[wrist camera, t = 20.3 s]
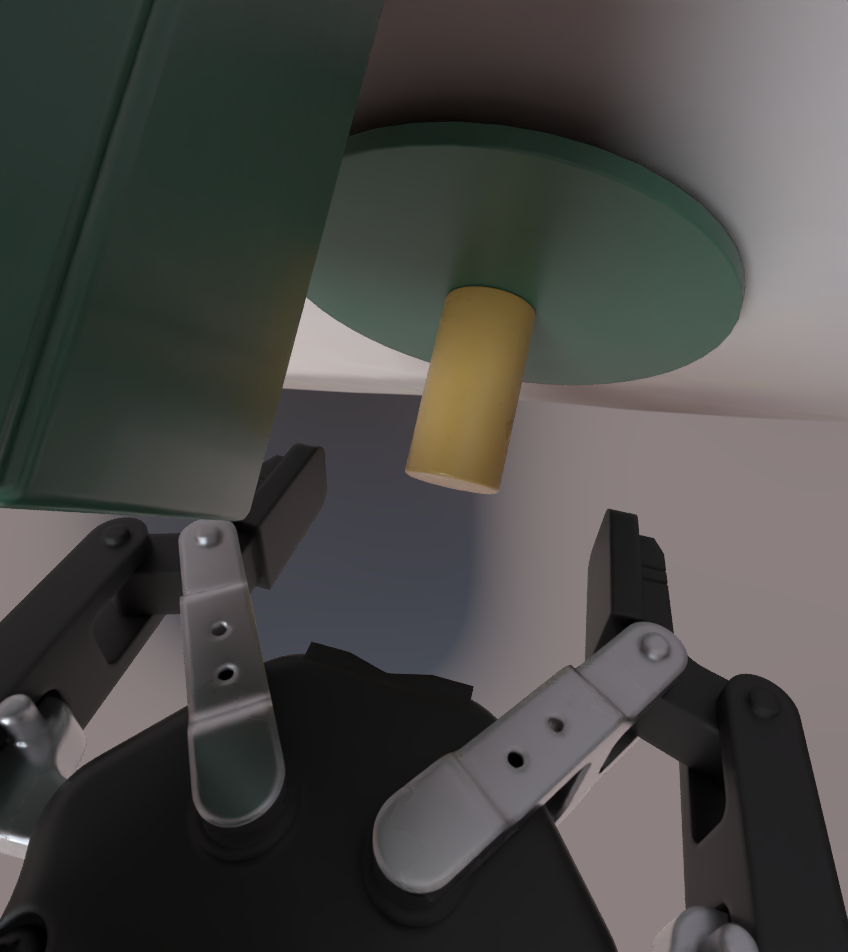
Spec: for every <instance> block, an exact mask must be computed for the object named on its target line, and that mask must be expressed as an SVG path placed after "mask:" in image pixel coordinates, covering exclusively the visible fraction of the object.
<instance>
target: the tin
mask: <svg viewBox="0 0 848 952" xmlns="http://www.w3.org/2000/svg"><path fill="white" fill-rule="evenodd" d="M383 2H384V0H0V508H12V509H30V510H47V511H64V512H65V511H66V512H82V513H100V514H118V515H135V516H152V517H153V516H154V517H170V518H187V519H205V520H222V521H238V520H243V519H244V518H245V517H246V516H247V514H248V513H249V512H250V509H251V505H252V501H253V497H254V493H255V490H256V486H257V482H258V478H259V474H260V470H261V467H262V463H263V459H264V455H265V451H266V448H267V444H268V440H269V436H270V432H271V428H272V425H273V421H274V417H275V413H276V410H277V405H278V402H279V398H280V394H281V390H282V387H283V383H284V379H285V375H286V371H287V368H288V364H289V360H290V356H291V352H292V349H293V345H294V341H295V337H296V333H297V330H298V326H299V322H300V318H301V314H302V311H303V307H304V303H305V299H306V295H307V292H308V288H309V284H310V280H311V276H312V272H313V269H314V265H315V261H316V257H317V253H318V250H319V246H320V242H321V238H322V234H323V231H324V227H325V223H326V219H327V215H328V212H329V208H330V204H331V200H332V196H333V192H334V189H335V185H336V181H337V177H338V173H339V170H340V166H341V162H342V158H343V154H344V151H345V147H346V143H347V139H348V135H349V132H350V128H351V124H352V120H353V116H354V113H355V109H356V105H357V101H358V97H359V93H360V90H361V86H362V82H363V78H364V74H365V71H366V67H367V63H368V59H369V55H370V52H371V48H372V44H373V40H374V36H375V33H376V29H377V25H378V21H379V17H380V14H381V10H382V6H383Z"/></svg>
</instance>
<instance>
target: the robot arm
mask: <svg viewBox="0 0 848 952" xmlns="http://www.w3.org/2000/svg"><path fill="white" fill-rule="evenodd" d="M326 491H327V485H326V467H325V452H324V449H323V448H322V447H320V446H315V445H310V444H305V443H301V442H296V443H295V444H294V445H293V446H292V447H291V449H290V450H289V451H288V452H287V454H286V455H285V456H279V455H276V456H274V457H272V458H270V459H269V460H267V461H265V462H263V463H262V467H261V470H260V474H259V478H258V482H257V486H256V490H255V493H254V497H253V501H252V505H251V509H250V512H249V513H248V514H247V516H246V517H245V518H244V519H243V520H238V521H222V520H205V519H201V520H198V521H195V522H194V523H192V524H190V525H189V526H187V527H186V528H185V529H184V530H183V531H182V532H181V533H177V534H149V533H148V530H147V527H146V525H145V524H144V523H143V522H142V521H141V520H138V519H135V518H117V519H113V520H110V521H107V522H105V523H103V524H101V525H99V526H97V527H96V528H95V529H94V530H92V531H91V532H90V533H89V534H88V535H87V536H86V537H85V538H84V539H83V540H82V541H81V542H80V543H79V544H78V545H77V546H76V547H75V548H74V549H73V550H72V551H71V552H70V553H69V554H68V555H67V556H66V557H65V558H64V559H63V560H62V561H61V562H60V563H59V564H58V565H57V566H56V567H55V568H54V569H53V570H52V571H51V572H50V573H49V574H48V575H47V576H46V577H45V578H44V579H43V580H42V581H41V582H40V583H39V584H38V585H37V586H36V587H35V588H34V589H33V590H32V591H31V592H30V593H29V594H28V595H27V596H26V597H25V598H24V599H23V600H22V601H21V602H20V603H19V604H18V605H17V606H16V607H15V608H14V609H13V610H12V611H11V612H10V613H9V614H8V615H7V616H6V617H5V618H4V619H3V620H2V621H1V622H0V853H3V854H6V855H10V856H14V857H17V858H21V859H24V863H23V867H22V870H21V873H20V876H19V879H18V882H17V884H16V886H15V889H14V891H13V894H12V896H11V899H10V901H9V903H8V905H7V907H6V909H5V911H4V913H3V915H2V917H1V919H0V952H618V951H617V948H616V945H615V943H614V940H613V938H612V936H611V934H610V932H609V930H608V928H607V926H606V924H605V922H604V920H603V918H602V916H601V914H600V912H599V910H598V908H597V906H596V904H595V902H594V900H593V898H592V896H591V894H590V892H589V890H588V888H587V886H586V885H585V882H584V881H583V878H582V876H581V874H580V873H579V871H578V869H577V867H576V865H575V863H574V861H573V859H572V857H571V855H570V853H569V851H568V849H567V847H566V845H565V843H564V841H563V839H562V837H561V835H560V833H559V831H558V829H557V826H558V825H559V824H560V823H561V822H562V821H563V820H564V819H565V818H566V817H567V816H568V815H569V814H570V813H571V811H572V810H573V809H574V808H575V807H576V806H577V805H578V804H579V802H580V801H581V800H582V799H583V798H584V796H585V795H586V794H587V792H588V791H589V790H590V789H591V788H592V786H593V785H594V784H595V783H596V782H597V781H598V780H599V779H600V778H601V777H602V776H603V775H604V774H605V773H606V772H607V771H608V770H609V769H610V768H611V767H612V766H613V765H614V764H615V763H616V761H618V760H619V759H620V758H621V757H622V756H623V755H624V754H625V753H626V752H627V751H628V750H629V748H631V747H632V746H633V745H634V744H635V743H636V742H637V741H638V740H639V739H640V738H642V739H643V740H645V741H646V742H648V743H650V744H652V745H653V746H655V747H656V748H658V749H660V750H661V751H663V752H665V753H666V754H668V755H670V756H672V757H673V758H675V759H676V760H678V761H679V765H680V766H679V768H680V789H681V813H682V833H683V834H682V836H683V857H684V879H685V880H684V881H685V902H686V910H685V911H683V912H682V913H681V914H679V915H678V916H677V917H676V918H675V919H674V920H673V921H671V922H670V923H669V924H668V925H667V926H665V927H664V928H663V929H662V930H661V931H660V932H659V933H658V934H657V936H656V938H655V940H654V943H653V946H652V952H848V919H847V915H846V910H845V906H844V902H843V897H842V893H841V889H840V885H839V880H838V876H837V872H836V868H835V863H834V859H833V855H832V851H831V846H830V842H829V838H828V834H827V829H826V825H825V821H824V817H823V813H822V808H821V804H820V799H819V795H818V791H817V787H816V782H815V778H814V774H813V770H812V765H811V761H810V757H809V753H808V748H807V744H806V740H805V736H804V731H803V727H802V723H801V719H800V715H799V712H798V709H797V707H796V706H795V704H794V702H793V701H792V700H791V698H790V697H789V696H788V695H787V694H786V693H785V692H784V691H783V690H782V689H781V688H780V687H778V686H777V685H775V684H774V683H772V682H771V681H769V680H767V679H765V678H762V677H759V676H757V675H752V674H740V675H736V676H734V677H733V678H732V679H730V680H727V679H725V678H723V677H721V676H719V675H717V674H715V673H713V672H711V671H709V670H707V669H706V668H704V667H702V666H700V665H699V664H697V663H696V662H695V661H693V660H692V659H691V658H689V657H688V655H687V652H686V649H685V647H684V645H683V644H682V642H681V641H680V640H679V639H678V638H677V636H676V635H674V631H673V623H672V616H671V607H670V600H669V591H668V586H667V575H666V573H665V571H666V567H665V559H664V553H663V552H662V550H661V549H660V547H659V545H658V544H657V542H656V541H655V539H654V538H650V537H646V536H642V535H639V527H638V517H637V515H635V514H631V513H626V512H621V511H617V510H612V509H607V511H606V513H605V515H604V518H603V521H602V524H601V527H600V529H599V532H598V535H597V538H596V540H595V544H594V546H593V549H592V552H591V556H590V561H589V567H588V586H587V587H588V588H587V617H586V647H585V648H586V649H585V662H584V663H582V664H581V665H580V666H578V667H577V668H573V666H571V665H569V666H566V667H564V668H562V669H561V670H560V671H558V672H557V673H556V674H555V675H553V676H552V677H551V678H549V679H548V680H547V681H546V682H544V683H543V684H542V685H541V686H539V687H538V688H537V689H536V690H534V691H533V692H532V693H530V694H529V695H528V696H527V697H526V698H524V699H523V700H522V701H520V702H519V703H518V704H517V705H515V706H514V707H513V708H512V709H510V710H509V711H508V712H506V713H505V714H504V715H503V716H501V717H500V718H499V719H497V718H496V717H495V716H493V715H492V714H491V713H490V712H489V711H488V710H487V709H485V708H484V707H483V706H481V705H480V704H478V703H477V702H475V701H473V700H471V696H472V692H473V686H470V685H467V684H463V683H459V682H455V681H452V680H449V679H445V678H441V677H438V676H434V675H417V674H391V673H386V672H384V671H382V670H380V669H378V668H377V667H375V666H373V665H371V664H370V663H368V662H366V661H364V660H362V659H361V658H359V657H357V656H356V655H354V654H352V653H350V652H347V651H343V650H339V649H336V648H332V647H329V646H325V645H322V644H318V643H314V642H311V644H310V646H309V648H308V650H307V652H306V654H292V655H286V656H281V657H278V658H274V659H271V660H269V661H266V662H263V657H262V652H261V647H260V643H259V637H258V632H257V628H256V623H255V618H254V613H253V609H252V603H251V598H250V593H251V592H252V591H253V589H254V588H255V586H258V587H261V588H265V589H269V590H270V588H271V587H272V585H273V584H274V582H275V581H276V579H277V578H278V576H279V574H280V573H281V571H282V570H283V568H284V567H285V565H286V564H287V562H288V560H289V559H290V557H291V556H292V554H293V553H294V551H295V550H296V548H297V546H298V545H299V543H300V542H301V540H302V539H303V537H304V536H305V534H306V532H307V531H308V529H309V528H310V526H311V524H312V523H313V521H314V520H315V518H316V516H317V515H318V514H319V512H320V511H321V509H322V507H323V504H324V502H325V498H326ZM166 614H181V626H182V638H183V651H184V664H185V676H186V688H187V700H188V706H186V707H184V708H182V709H180V710H179V711H177V712H175V713H173V714H172V715H170V716H168V717H166V718H165V719H163V720H161V721H159V722H158V723H156V724H154V725H152V726H151V727H149V728H147V729H145V730H143V731H142V732H140V733H138V734H137V735H135V736H133V737H131V738H130V739H128V740H126V741H124V742H122V743H121V744H119V745H117V746H115V747H114V748H112V749H110V750H108V751H107V752H105V753H103V754H101V755H100V756H98V757H96V758H94V759H93V760H92V761H90V762H88V763H87V764H85V765H83V766H82V767H81V768H80V769H78V770H77V766H78V765H79V763H80V761H81V759H82V757H83V755H84V752H85V749H86V736H85V733H84V732H83V730H84V728H85V727H86V725H87V724H88V722H89V721H90V720H91V718H92V717H93V716H94V714H95V713H96V711H97V710H98V708H99V707H100V706H101V704H102V703H103V702H104V700H105V699H106V697H107V696H108V695H109V693H110V692H111V691H112V689H113V687H114V686H115V685H116V684H117V682H118V681H119V679H120V678H121V676H122V675H123V674H124V672H125V671H126V670H127V668H128V667H129V665H130V664H131V663H132V661H133V660H134V658H135V657H136V656H137V654H138V653H139V651H140V650H141V649H142V647H143V646H144V645H145V643H146V642H147V640H148V639H149V637H150V636H151V635H152V633H153V632H154V631H155V629H156V628H157V626H158V625H159V624H160V622H161V621H162V619H163V618H164V617H165V615H166Z"/></svg>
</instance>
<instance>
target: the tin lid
mask: <svg viewBox="0 0 848 952" xmlns="http://www.w3.org/2000/svg"><path fill="white" fill-rule="evenodd" d="M744 292H745V277H744V268H743V265H742V262H741V259H740V256H739V253H738V251H737V248H736V246H735V245H734V243H733V241H732V240H731V238H730V237H729V235H728V234H727V232H726V231H725V229H724V228H723V226H722V225H721V224H720V223H719V222H718V221H717V220H716V219H715V218H714V217H713V216H712V215H711V214H710V213H709V212H708V211H707V210H706V209H705V208H704V206H703V205H702V204H700V203H699V202H698V201H696V200H695V199H694V198H692V197H691V196H690V195H688V194H687V193H686V192H684V191H683V190H681V189H680V188H679V187H677V186H676V185H675V184H673V183H672V182H670V181H668V180H666V179H665V178H663V177H661V176H659V175H657V174H655V173H654V172H652V171H650V170H648V169H646V168H645V167H643V166H641V165H639V164H637V163H635V162H633V161H630V160H628V159H625V158H623V157H620V156H618V155H615V154H613V153H610V152H608V151H605V150H603V149H601V148H598V147H596V146H592V145H589V144H585V143H582V142H578V141H575V140H571V139H568V138H564V137H561V136H557V135H554V134H550V133H545V132H539V131H534V130H528V129H523V128H517V127H512V126H506V125H496V124H483V123H471V122H422V123H409V124H402V125H395V126H388V127H382V128H375V129H372V130H368V131H365V132H361V133H358V134H354V135H351V136H348V139H347V143H346V147H345V151H344V154H343V158H342V162H341V166H340V170H339V173H338V177H337V181H336V185H335V189H334V192H333V196H332V200H331V204H330V208H329V212H328V215H327V219H326V223H325V227H324V231H323V234H322V238H321V242H320V246H319V250H318V253H317V257H316V261H315V265H314V269H313V272H312V276H311V280H310V284H309V288H308V292H307V295H306V297H307V298H308V299H309V300H310V301H312V302H313V303H314V304H315V305H316V306H318V307H319V308H320V309H321V310H323V311H324V312H326V313H327V314H329V315H330V316H331V317H333V318H334V319H336V320H337V321H339V322H341V323H342V324H344V325H346V326H347V327H349V328H351V329H352V330H354V331H356V332H358V333H360V334H362V335H364V336H365V337H367V338H369V339H371V340H373V341H376V342H378V343H380V344H382V345H384V346H387V347H389V348H391V349H394V350H396V351H399V352H401V353H404V354H406V355H409V356H412V357H415V358H418V359H421V360H423V361H426V362H430V366H429V370H428V374H427V379H426V383H425V387H424V391H423V396H422V400H421V404H420V409H419V413H418V417H417V422H416V426H415V430H414V435H413V439H412V443H411V447H410V452H409V457H408V460H407V465H406V469H405V472H406V473H407V474H408V475H410V476H412V477H414V478H417V479H419V480H423V481H426V482H429V483H433V484H436V485H441V486H444V487H449V488H453V489H458V490H463V491H469V492H476V493H483V494H495V493H497V492H498V491H499V488H500V483H501V478H502V474H503V469H504V464H505V459H506V455H507V449H508V445H509V441H510V436H511V431H512V426H513V421H514V417H515V412H516V407H517V403H518V398H519V393H520V389H521V384H522V382H526V383H538V384H554V385H593V384H608V383H617V382H625V381H632V380H637V379H643V378H648V377H652V376H656V375H660V374H663V373H667V372H670V371H673V370H675V369H678V368H681V367H683V366H686V365H688V364H690V363H692V362H694V361H696V360H698V359H700V358H702V357H704V356H705V355H707V354H708V353H709V352H711V351H712V350H714V349H715V348H716V347H718V346H719V345H720V344H721V343H722V342H723V341H724V339H725V338H726V337H727V336H728V335H729V334H730V333H731V331H732V329H733V328H734V326H735V324H736V322H737V321H738V319H739V315H740V311H741V307H742V303H743V298H744Z"/></svg>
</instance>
